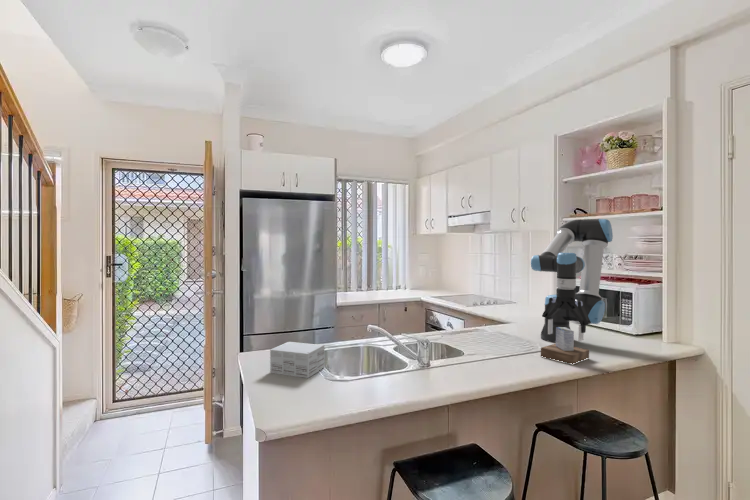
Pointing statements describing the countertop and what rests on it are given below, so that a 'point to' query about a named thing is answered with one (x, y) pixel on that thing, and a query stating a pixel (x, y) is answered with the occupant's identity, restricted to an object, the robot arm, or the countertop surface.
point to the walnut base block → (564, 354)
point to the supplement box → (297, 359)
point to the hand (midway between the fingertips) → (565, 337)
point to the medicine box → (565, 339)
